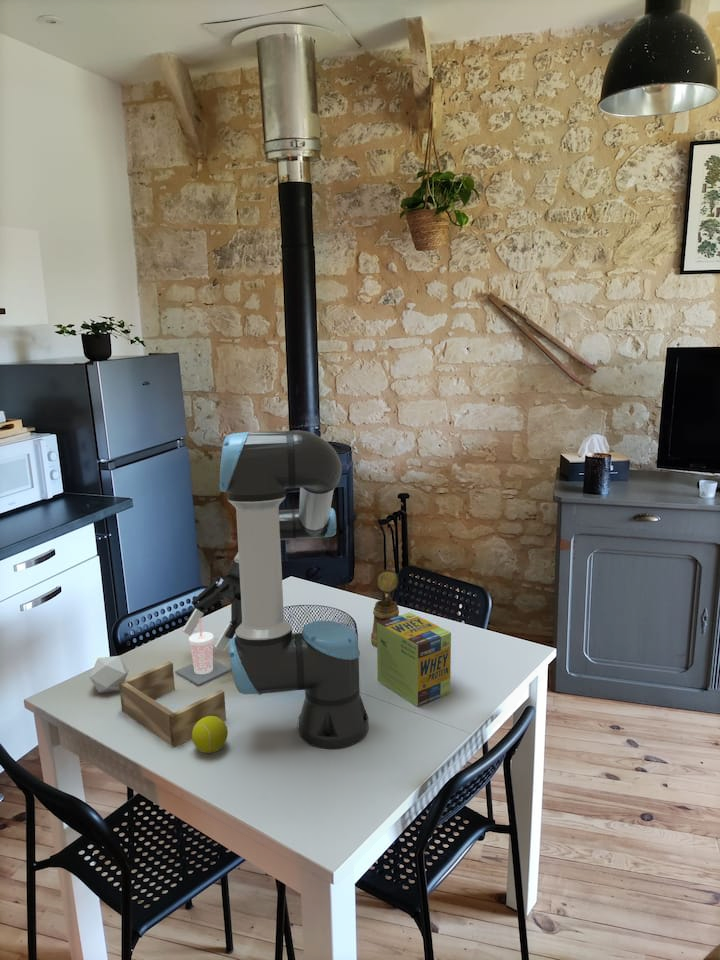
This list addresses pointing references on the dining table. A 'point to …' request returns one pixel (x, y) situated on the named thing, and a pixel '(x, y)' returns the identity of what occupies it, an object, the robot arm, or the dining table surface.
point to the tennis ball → (209, 734)
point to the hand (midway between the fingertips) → (201, 641)
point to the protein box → (414, 658)
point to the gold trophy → (385, 601)
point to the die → (108, 674)
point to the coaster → (203, 678)
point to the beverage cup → (202, 651)
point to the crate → (157, 717)
